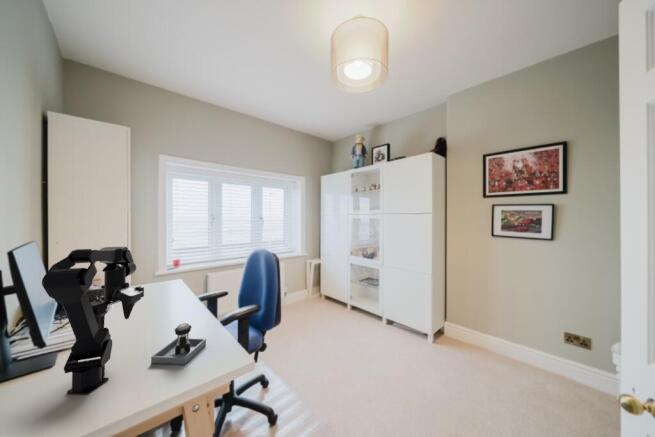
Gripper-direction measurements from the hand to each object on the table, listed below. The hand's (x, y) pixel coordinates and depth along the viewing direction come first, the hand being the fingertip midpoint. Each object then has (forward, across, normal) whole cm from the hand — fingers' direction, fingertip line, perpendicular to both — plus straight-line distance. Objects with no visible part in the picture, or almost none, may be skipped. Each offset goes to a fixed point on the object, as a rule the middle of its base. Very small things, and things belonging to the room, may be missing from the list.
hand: (114, 324), depth 85 cm
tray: (+12, +4, -22) cm, 25 cm away
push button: (+12, +4, -22) cm, 25 cm away
